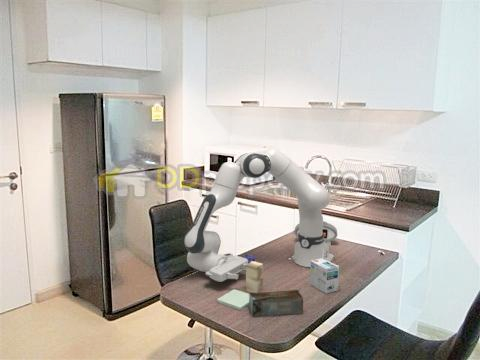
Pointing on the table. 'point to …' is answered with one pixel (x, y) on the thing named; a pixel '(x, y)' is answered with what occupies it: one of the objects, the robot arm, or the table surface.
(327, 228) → the alarm clock
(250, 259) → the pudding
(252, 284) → the beech block
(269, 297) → the beverage carton
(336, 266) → the light bulb box
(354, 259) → the table surface
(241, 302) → the sage tile
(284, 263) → the table surface
